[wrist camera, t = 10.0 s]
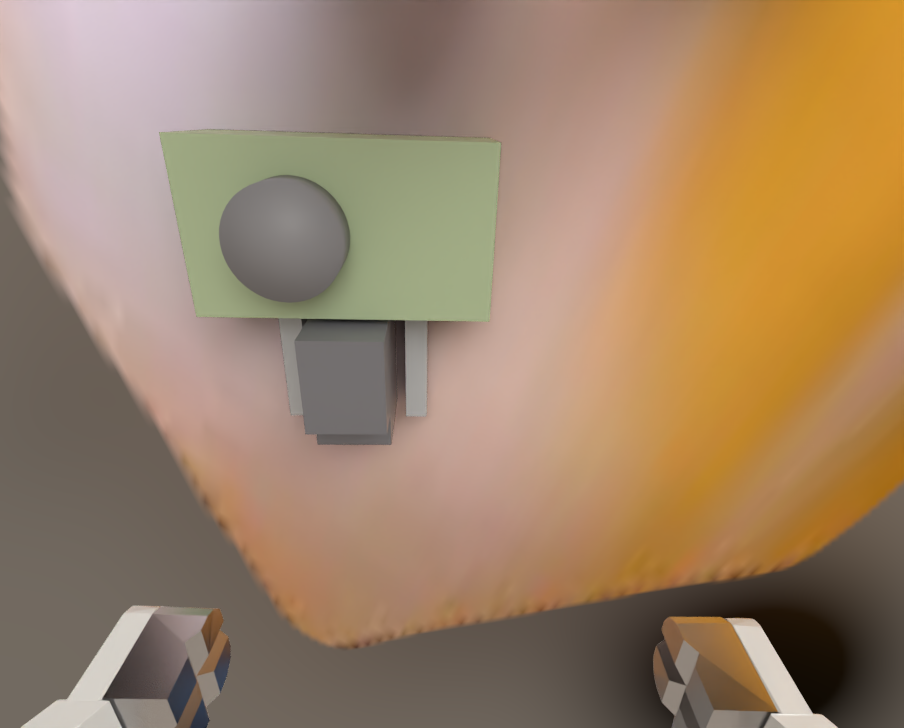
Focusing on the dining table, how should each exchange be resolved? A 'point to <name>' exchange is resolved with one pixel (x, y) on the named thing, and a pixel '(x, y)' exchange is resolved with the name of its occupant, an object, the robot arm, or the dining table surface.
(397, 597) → the dining table surface
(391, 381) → the upright grey box
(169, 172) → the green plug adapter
